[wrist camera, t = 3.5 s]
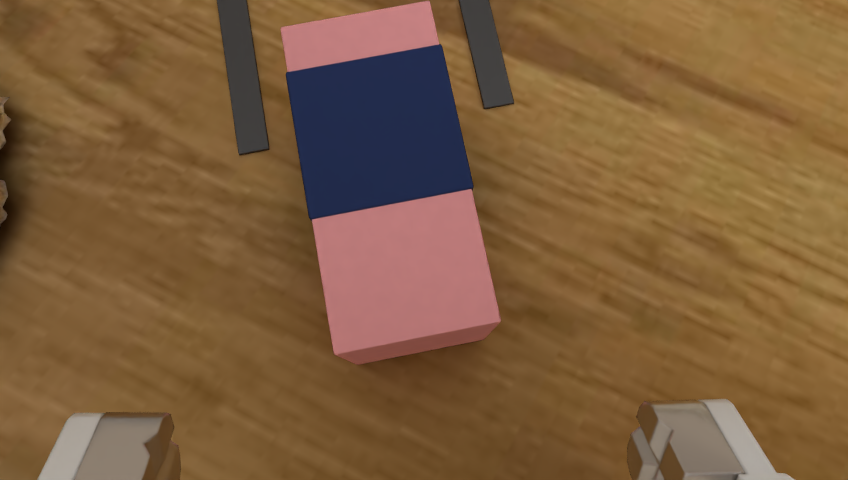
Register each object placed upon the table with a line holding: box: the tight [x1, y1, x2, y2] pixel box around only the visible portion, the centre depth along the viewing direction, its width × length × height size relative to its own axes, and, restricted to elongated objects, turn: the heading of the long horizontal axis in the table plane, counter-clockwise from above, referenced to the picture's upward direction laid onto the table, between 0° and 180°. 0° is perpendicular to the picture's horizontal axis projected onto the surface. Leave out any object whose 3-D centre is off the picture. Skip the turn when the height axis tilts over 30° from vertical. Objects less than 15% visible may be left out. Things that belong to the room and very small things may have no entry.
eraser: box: [281, 1, 501, 365], centre depth 28 cm, size 13×6×8 cm, turn 11°
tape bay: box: [217, 0, 514, 155], centre depth 35 cm, size 13×14×1 cm
